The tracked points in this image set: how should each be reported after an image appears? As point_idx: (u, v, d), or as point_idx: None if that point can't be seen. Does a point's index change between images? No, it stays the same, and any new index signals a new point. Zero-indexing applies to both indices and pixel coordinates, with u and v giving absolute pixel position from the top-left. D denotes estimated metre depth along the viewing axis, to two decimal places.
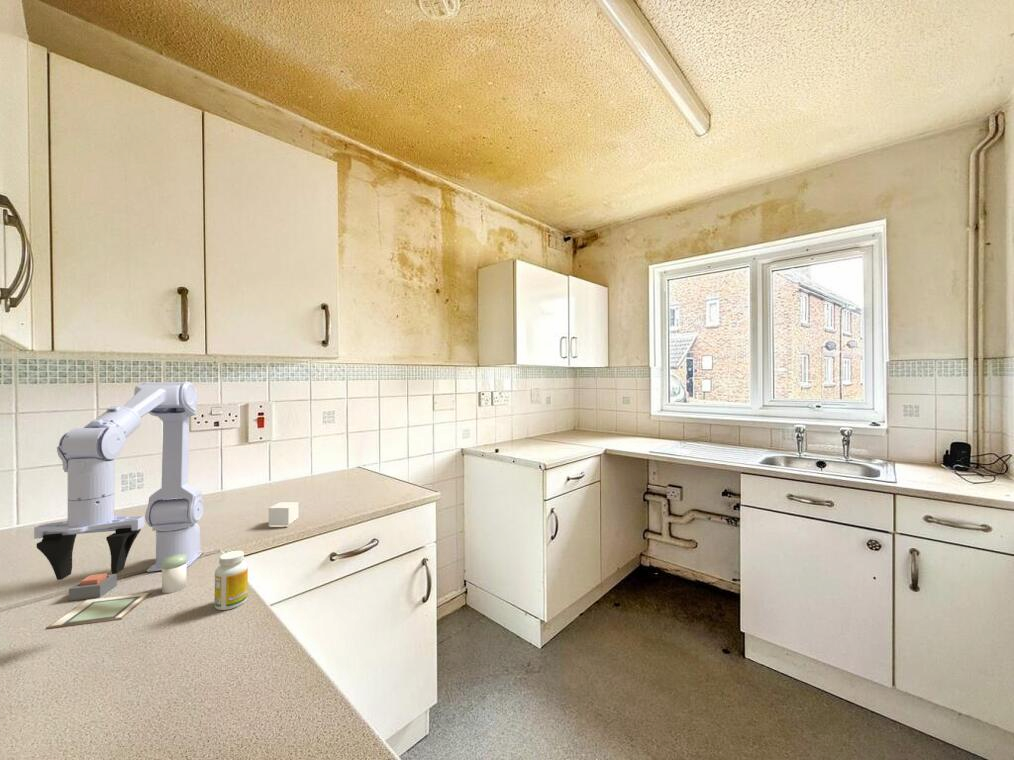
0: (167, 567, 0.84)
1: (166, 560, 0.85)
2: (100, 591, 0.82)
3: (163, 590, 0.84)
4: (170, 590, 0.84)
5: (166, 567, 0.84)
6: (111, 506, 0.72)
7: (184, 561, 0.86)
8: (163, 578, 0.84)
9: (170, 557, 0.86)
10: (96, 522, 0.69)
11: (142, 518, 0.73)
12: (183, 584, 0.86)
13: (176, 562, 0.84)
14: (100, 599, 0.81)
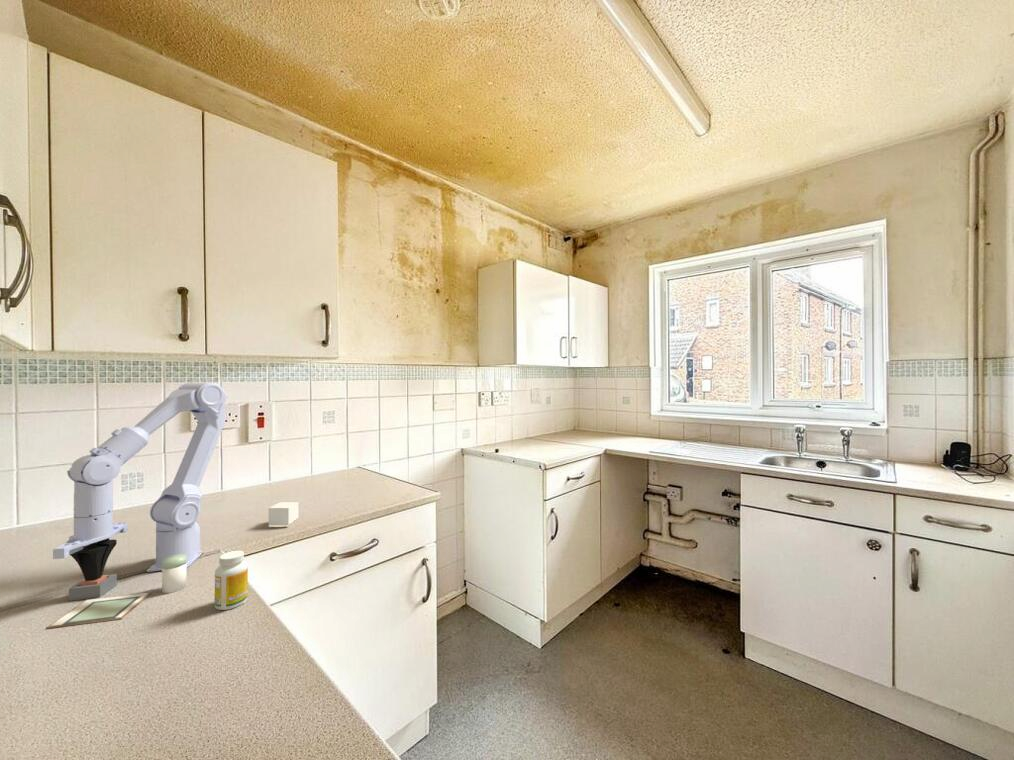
0: (167, 566, 0.84)
1: (166, 560, 0.85)
2: (100, 591, 0.82)
3: (163, 590, 0.84)
4: (170, 590, 0.84)
5: (166, 567, 0.84)
6: (81, 528, 0.81)
7: (184, 561, 0.86)
8: (163, 578, 0.84)
9: (170, 557, 0.86)
10: (73, 537, 0.82)
11: (60, 550, 0.77)
12: (183, 584, 0.86)
13: (176, 562, 0.84)
14: (100, 599, 0.81)
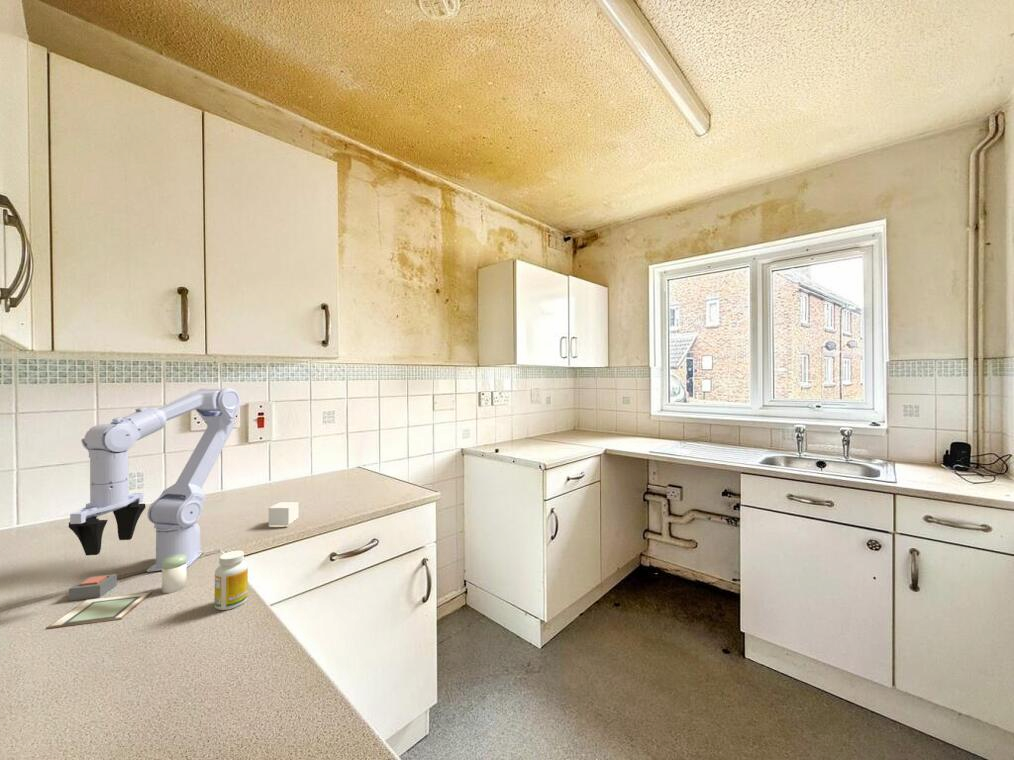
0: (167, 566, 0.84)
1: (166, 560, 0.85)
2: (100, 591, 0.82)
3: (163, 590, 0.84)
4: (170, 590, 0.84)
5: (166, 567, 0.84)
6: (97, 495, 0.82)
7: (184, 561, 0.86)
8: (163, 578, 0.84)
9: (170, 557, 0.86)
10: (90, 504, 0.82)
11: (77, 515, 0.77)
12: (183, 584, 0.86)
13: (176, 562, 0.84)
14: (100, 599, 0.81)
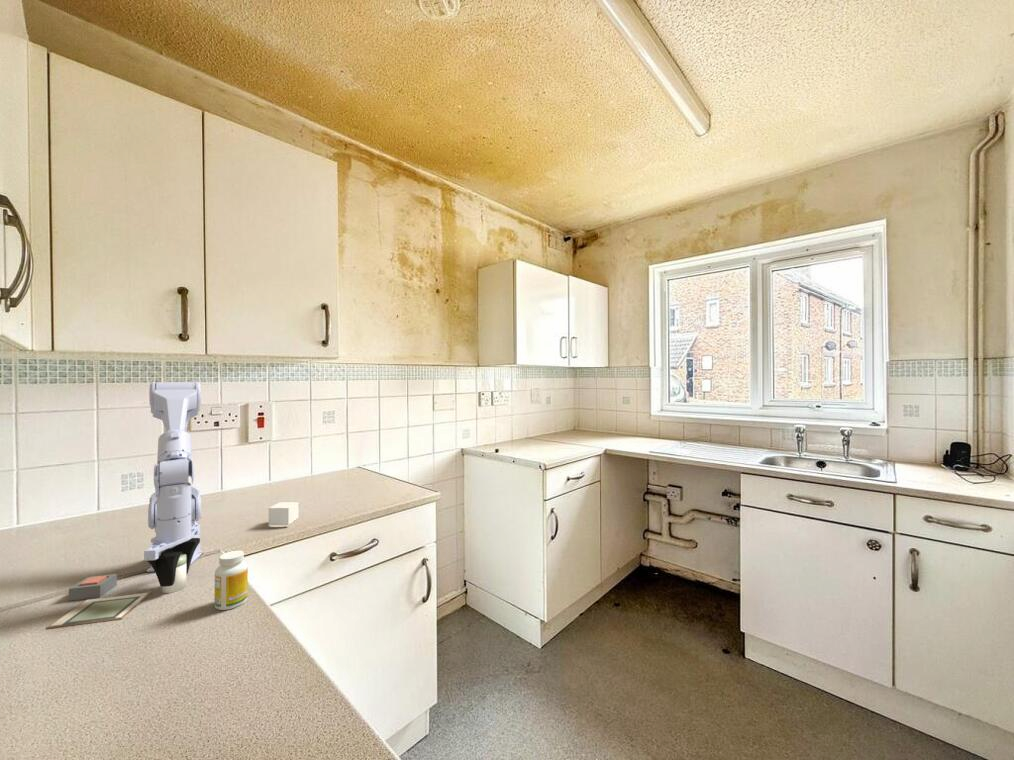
0: None
1: None
2: (100, 591, 0.82)
3: (163, 590, 0.84)
4: (170, 590, 0.84)
5: None
6: (165, 530, 0.83)
7: (184, 561, 0.86)
8: None
9: None
10: (156, 539, 0.84)
11: (151, 551, 0.79)
12: (183, 584, 0.86)
13: None
14: (100, 599, 0.81)
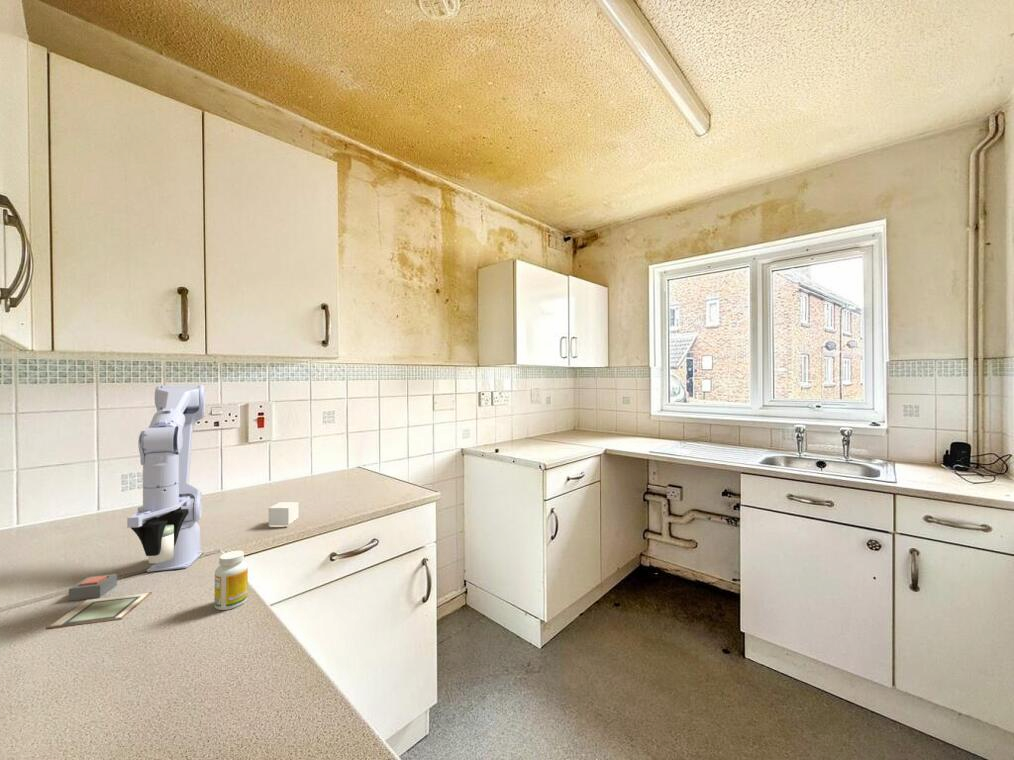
0: None
1: None
2: (100, 591, 0.82)
3: (149, 560, 0.82)
4: (156, 560, 0.82)
5: None
6: (151, 498, 0.81)
7: (171, 531, 0.84)
8: None
9: None
10: (143, 507, 0.82)
11: (134, 518, 0.77)
12: (170, 554, 0.84)
13: None
14: (100, 599, 0.81)
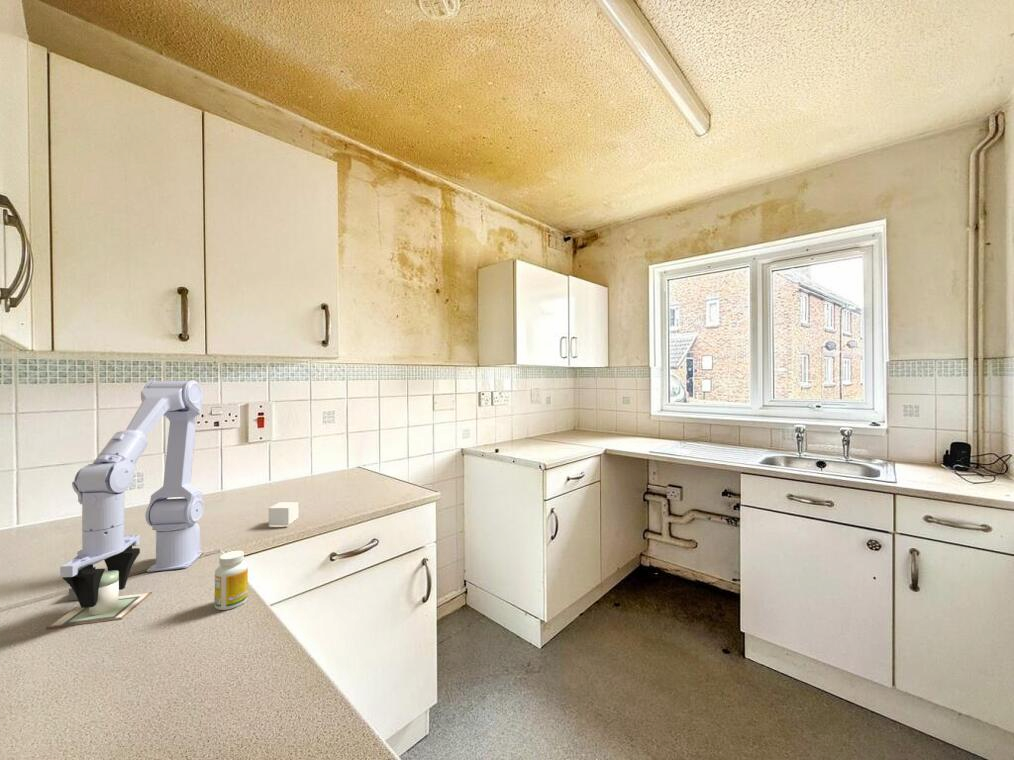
0: None
1: None
2: None
3: (90, 611, 0.75)
4: (97, 612, 0.75)
5: None
6: (90, 542, 0.75)
7: (115, 579, 0.77)
8: None
9: None
10: (82, 552, 0.75)
11: (68, 567, 0.70)
12: (113, 604, 0.77)
13: (104, 581, 0.76)
14: None
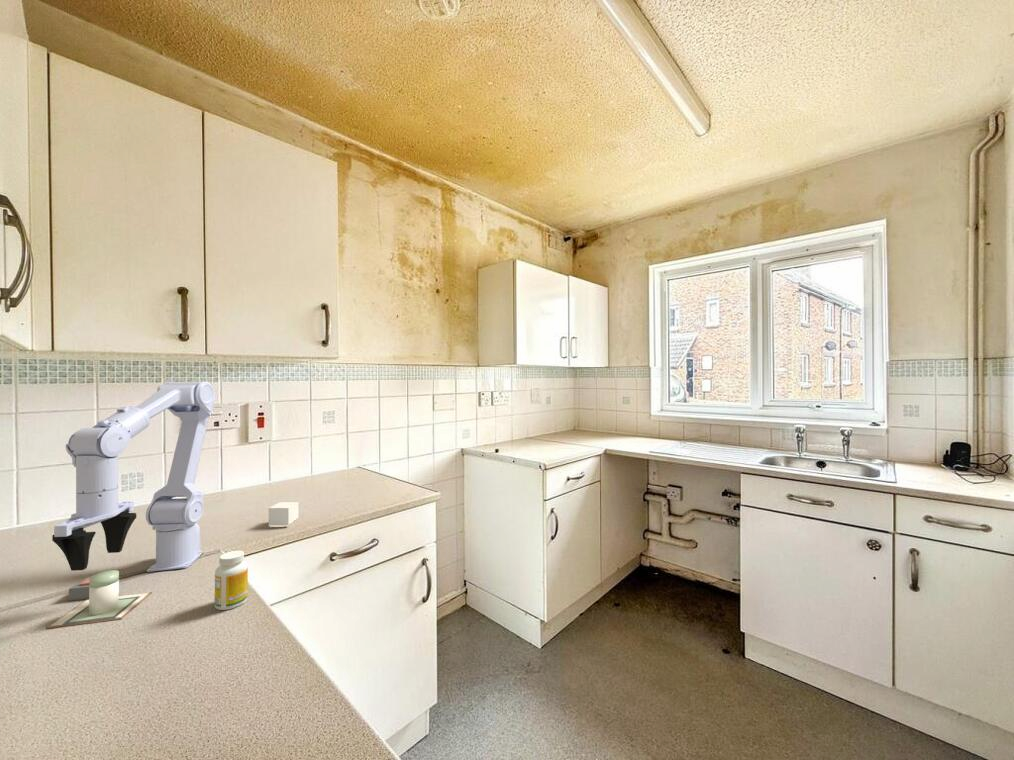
0: (94, 585, 0.75)
1: (94, 578, 0.76)
2: None
3: (90, 611, 0.75)
4: (97, 611, 0.75)
5: (93, 586, 0.75)
6: (84, 504, 0.75)
7: (115, 579, 0.77)
8: (90, 598, 0.75)
9: (100, 574, 0.77)
10: (76, 514, 0.76)
11: (62, 527, 0.71)
12: (113, 604, 0.77)
13: (104, 581, 0.76)
14: None
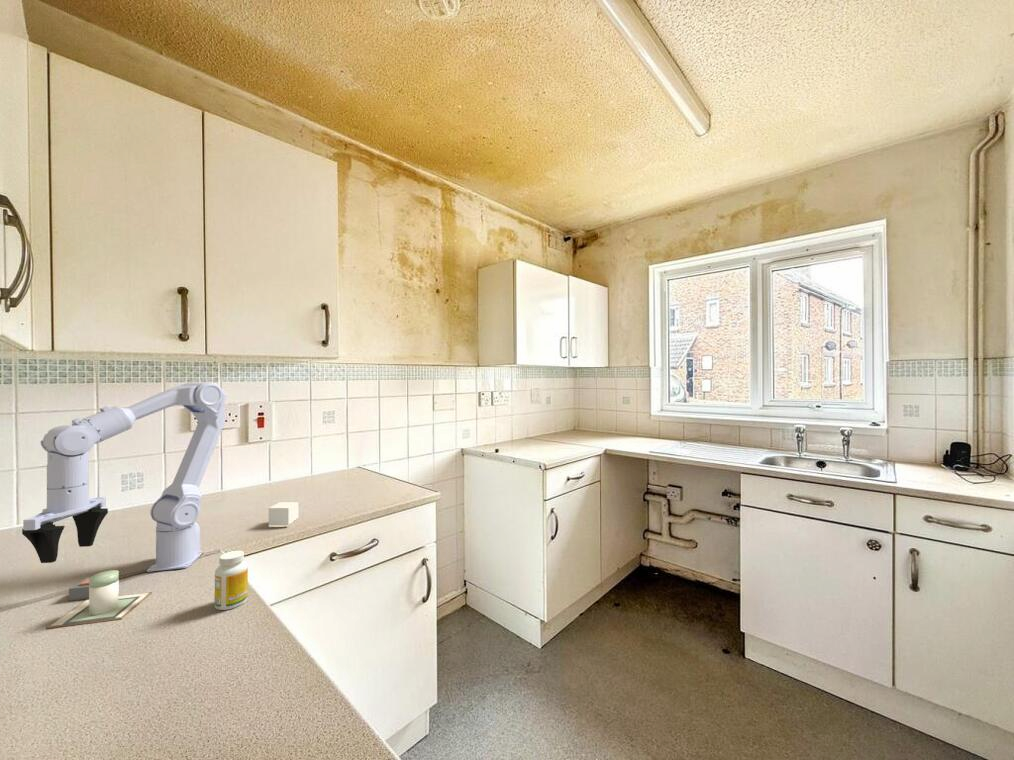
0: (94, 585, 0.75)
1: (94, 578, 0.76)
2: None
3: (90, 611, 0.75)
4: (97, 611, 0.75)
5: (93, 586, 0.75)
6: (54, 499, 0.78)
7: (115, 579, 0.77)
8: (90, 598, 0.75)
9: (100, 574, 0.77)
10: (46, 509, 0.79)
11: (31, 521, 0.74)
12: (114, 604, 0.77)
13: (104, 581, 0.76)
14: None
